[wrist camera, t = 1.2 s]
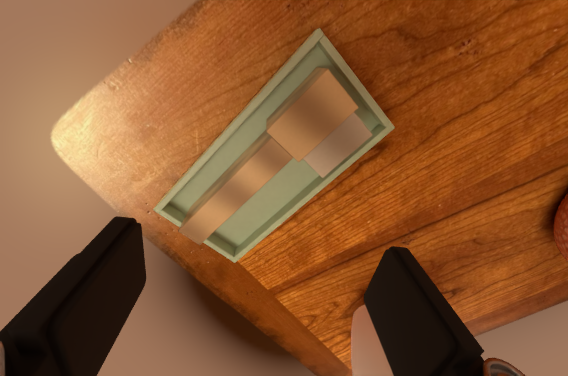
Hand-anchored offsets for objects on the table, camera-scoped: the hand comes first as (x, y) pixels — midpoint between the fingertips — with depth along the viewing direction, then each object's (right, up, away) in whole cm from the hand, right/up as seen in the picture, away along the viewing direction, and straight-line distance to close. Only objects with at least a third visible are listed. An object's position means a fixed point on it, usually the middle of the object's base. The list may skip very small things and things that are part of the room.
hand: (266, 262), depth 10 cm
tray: (-1, +5, +15) cm, 16 cm away
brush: (-1, +5, +14) cm, 15 cm away
